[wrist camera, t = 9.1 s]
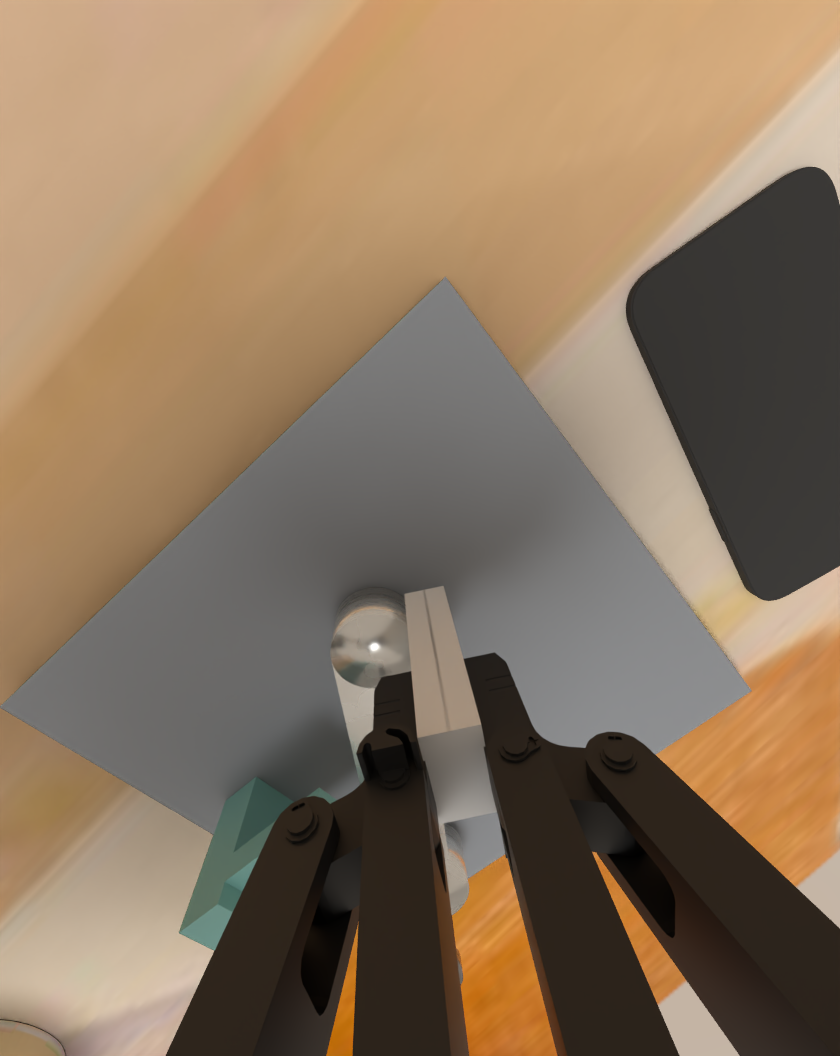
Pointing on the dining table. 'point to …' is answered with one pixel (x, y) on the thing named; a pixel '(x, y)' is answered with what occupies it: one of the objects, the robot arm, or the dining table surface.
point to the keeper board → (375, 561)
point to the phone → (757, 375)
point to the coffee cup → (27, 1041)
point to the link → (359, 663)
